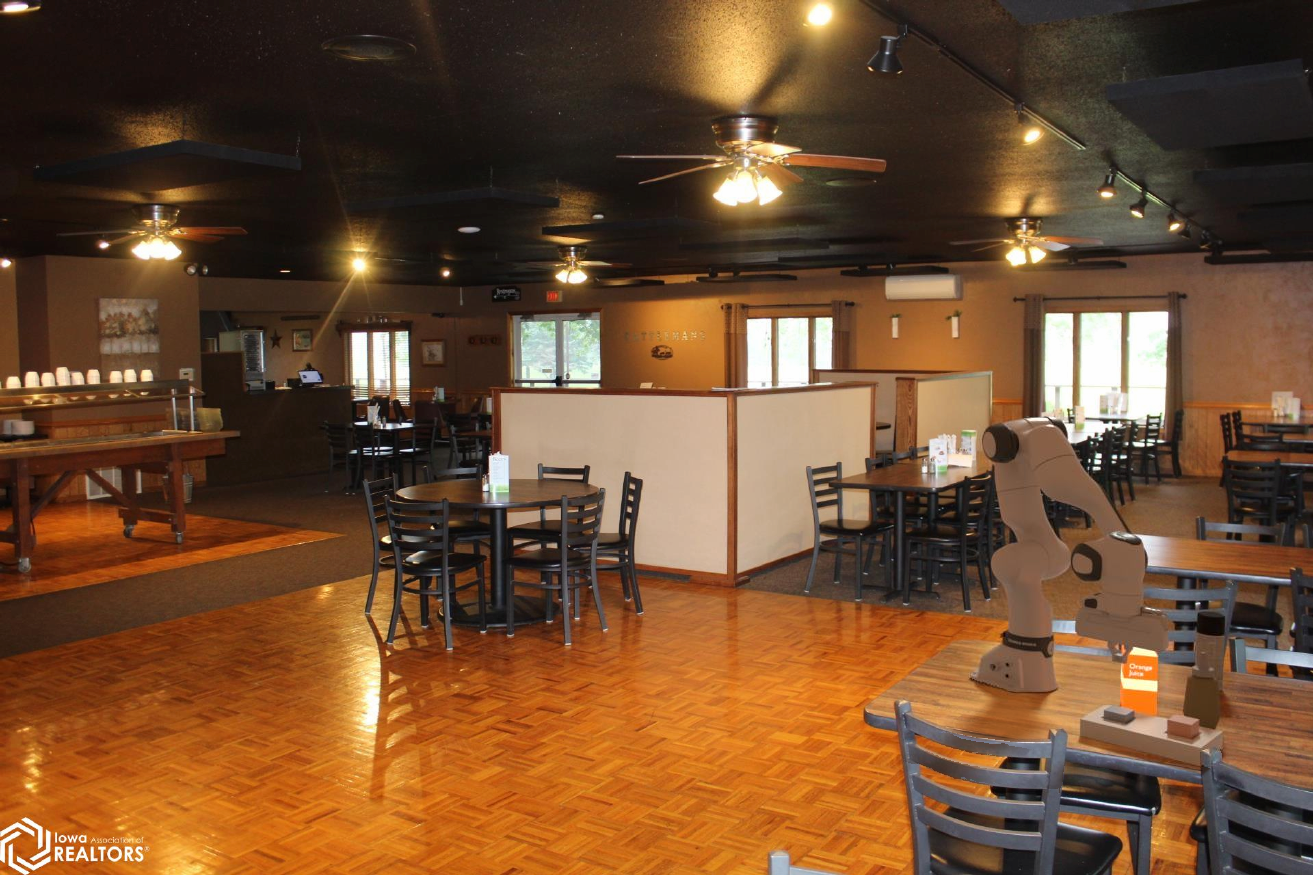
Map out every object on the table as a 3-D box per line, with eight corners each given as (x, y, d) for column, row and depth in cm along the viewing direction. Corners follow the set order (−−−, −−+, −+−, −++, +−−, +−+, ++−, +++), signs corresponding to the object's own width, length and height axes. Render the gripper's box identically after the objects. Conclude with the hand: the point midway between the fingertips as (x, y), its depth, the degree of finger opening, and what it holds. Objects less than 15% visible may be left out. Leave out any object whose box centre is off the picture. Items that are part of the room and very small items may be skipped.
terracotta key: (1166, 737, 231) (1167, 719, 231) (1175, 731, 234) (1175, 714, 234) (1190, 742, 227) (1191, 724, 227) (1198, 736, 231) (1199, 719, 231)
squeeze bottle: (1174, 722, 249) (1177, 648, 247) (1207, 721, 249) (1209, 647, 248) (1195, 734, 241) (1197, 658, 239) (1228, 733, 241) (1230, 657, 240)
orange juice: (1122, 712, 256) (1124, 632, 255) (1119, 701, 265) (1121, 623, 263) (1157, 715, 254) (1159, 635, 252) (1153, 704, 262) (1155, 626, 261)
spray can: (1216, 684, 277) (1218, 610, 276) (1227, 692, 271) (1230, 617, 269) (1190, 684, 278) (1192, 610, 277) (1200, 692, 271) (1203, 616, 270)
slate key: (1103, 726, 241) (1103, 709, 241) (1112, 721, 244) (1112, 704, 244) (1125, 732, 237) (1125, 715, 237) (1134, 726, 241) (1134, 709, 241)
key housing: (1079, 735, 240) (1080, 718, 240) (1105, 720, 250) (1105, 704, 250) (1200, 766, 222) (1200, 747, 222) (1222, 748, 232) (1222, 731, 231)
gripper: (1174, 609, 234) (1171, 669, 235) (1084, 593, 248) (1082, 650, 249) (1164, 614, 229) (1161, 675, 231) (1073, 598, 244) (1070, 655, 245)
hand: (1119, 662), depth 240 cm, fingers closed
